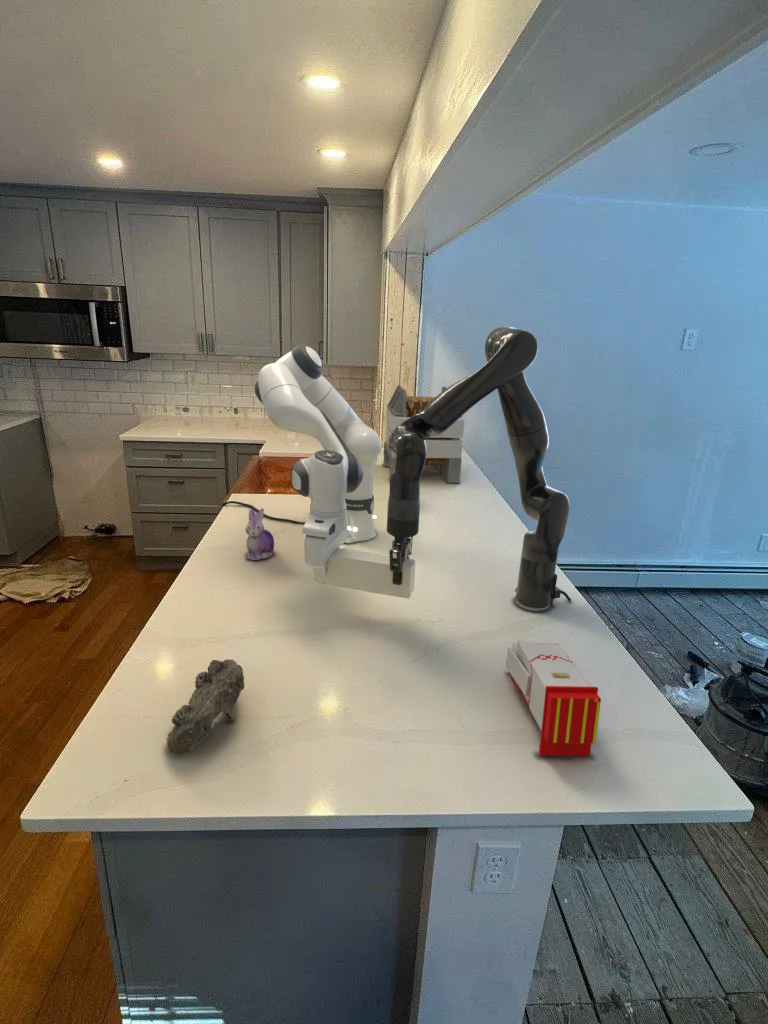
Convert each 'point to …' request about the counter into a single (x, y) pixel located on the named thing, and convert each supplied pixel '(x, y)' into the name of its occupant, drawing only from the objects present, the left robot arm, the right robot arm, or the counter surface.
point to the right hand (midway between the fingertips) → (400, 578)
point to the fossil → (206, 705)
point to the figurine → (258, 537)
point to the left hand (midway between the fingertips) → (327, 569)
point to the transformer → (439, 447)
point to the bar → (366, 573)
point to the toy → (556, 697)
